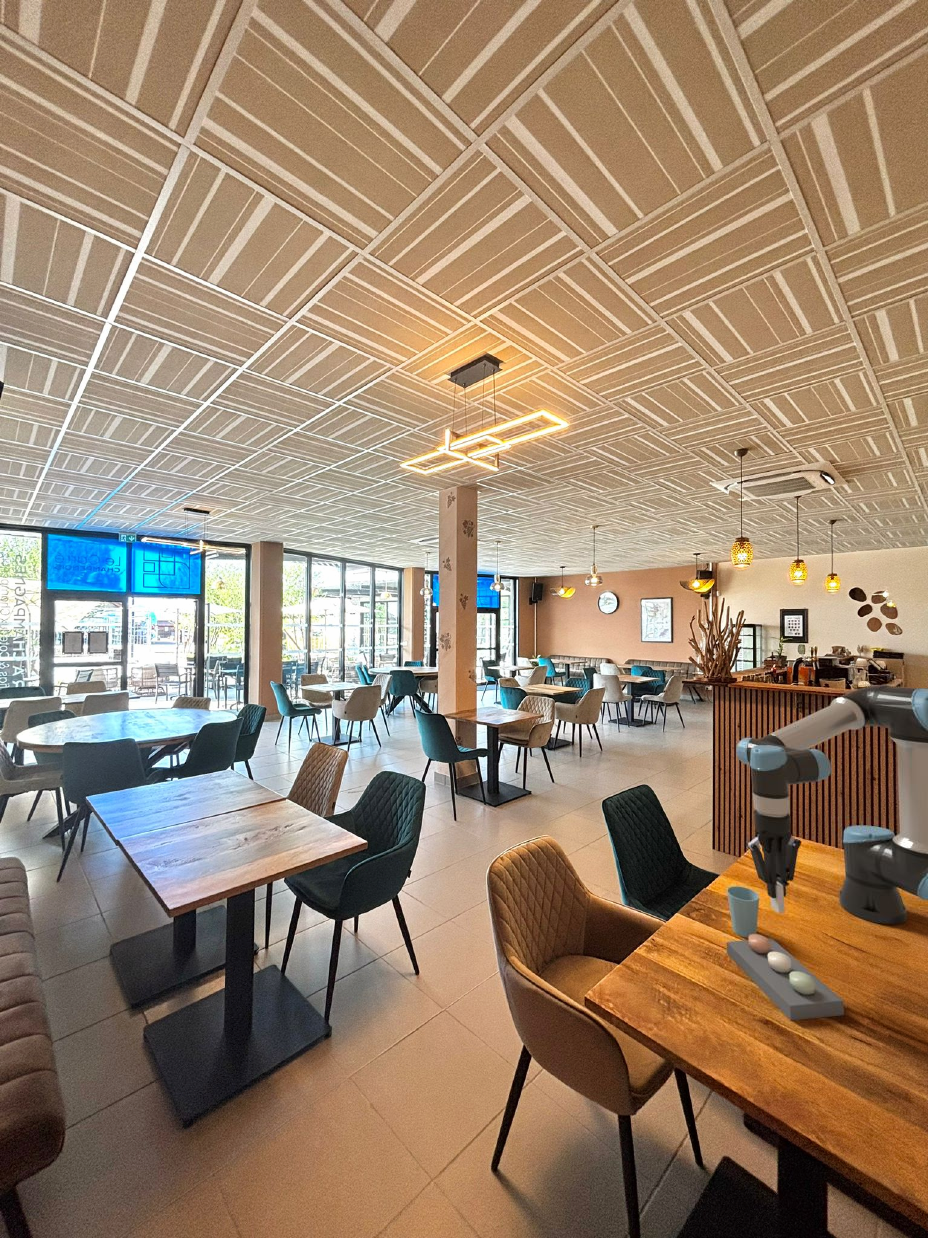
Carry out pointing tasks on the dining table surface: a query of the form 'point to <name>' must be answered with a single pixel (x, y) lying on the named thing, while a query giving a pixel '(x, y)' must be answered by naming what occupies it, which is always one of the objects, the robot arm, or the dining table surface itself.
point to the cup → (743, 910)
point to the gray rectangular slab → (785, 983)
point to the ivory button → (779, 962)
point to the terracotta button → (759, 943)
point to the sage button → (802, 983)
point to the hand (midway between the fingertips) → (777, 910)
